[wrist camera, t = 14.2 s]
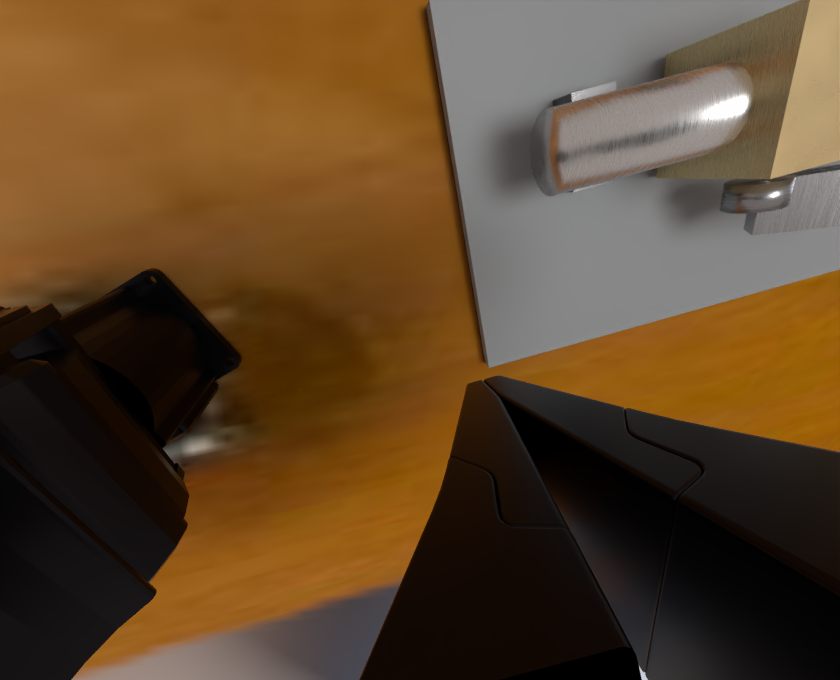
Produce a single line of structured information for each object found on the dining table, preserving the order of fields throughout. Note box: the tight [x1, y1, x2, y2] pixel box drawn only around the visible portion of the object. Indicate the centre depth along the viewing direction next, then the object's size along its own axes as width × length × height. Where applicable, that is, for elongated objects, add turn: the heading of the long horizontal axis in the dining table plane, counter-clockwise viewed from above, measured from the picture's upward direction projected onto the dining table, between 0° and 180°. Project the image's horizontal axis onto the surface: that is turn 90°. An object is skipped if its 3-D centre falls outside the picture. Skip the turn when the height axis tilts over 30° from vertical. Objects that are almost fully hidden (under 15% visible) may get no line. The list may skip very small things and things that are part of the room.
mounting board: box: [426, 0, 840, 368], centre depth 18 cm, size 26×18×1 cm
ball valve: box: [530, 0, 840, 196], centre depth 14 cm, size 20×6×6 cm, turn 104°
